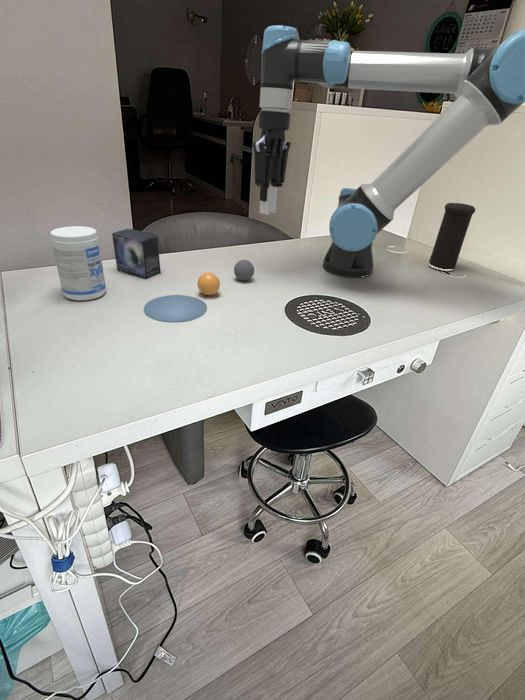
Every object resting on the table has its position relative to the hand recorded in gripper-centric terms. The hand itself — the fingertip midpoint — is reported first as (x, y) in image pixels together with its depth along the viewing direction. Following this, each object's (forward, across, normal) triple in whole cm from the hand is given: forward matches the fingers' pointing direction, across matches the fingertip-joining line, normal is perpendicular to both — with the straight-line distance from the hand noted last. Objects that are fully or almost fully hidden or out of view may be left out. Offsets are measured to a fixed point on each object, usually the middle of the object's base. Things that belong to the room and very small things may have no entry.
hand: (267, 212), depth 105 cm
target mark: (+17, +34, 0) cm, 38 cm away
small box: (+17, +26, -24) cm, 39 cm away
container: (+17, -46, +39) cm, 62 cm away
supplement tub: (+17, +44, -21) cm, 51 cm away
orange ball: (+14, +24, 0) cm, 27 cm away
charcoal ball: (+14, +10, 0) cm, 17 cm away
